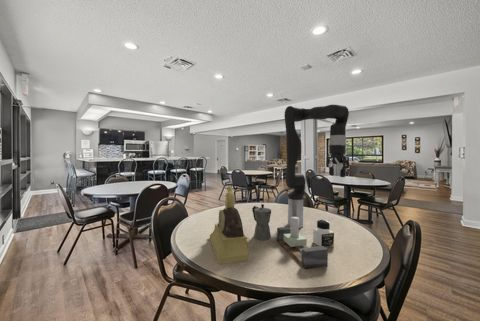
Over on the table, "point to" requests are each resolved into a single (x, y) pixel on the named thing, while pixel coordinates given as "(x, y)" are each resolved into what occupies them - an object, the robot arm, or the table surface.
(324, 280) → the table surface
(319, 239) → the medicine bottle
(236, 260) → the decorative clock
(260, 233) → the coffeepot
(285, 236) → the carriage
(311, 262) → the rail
